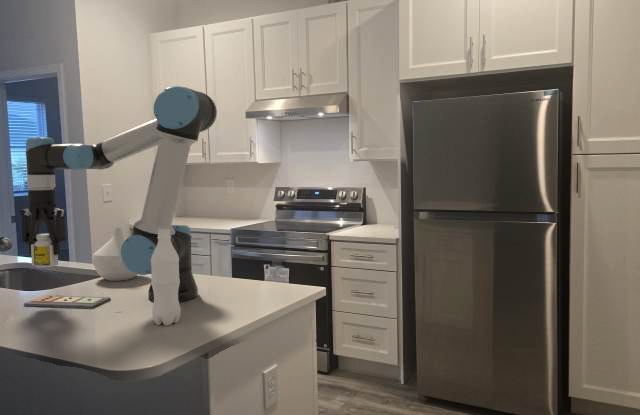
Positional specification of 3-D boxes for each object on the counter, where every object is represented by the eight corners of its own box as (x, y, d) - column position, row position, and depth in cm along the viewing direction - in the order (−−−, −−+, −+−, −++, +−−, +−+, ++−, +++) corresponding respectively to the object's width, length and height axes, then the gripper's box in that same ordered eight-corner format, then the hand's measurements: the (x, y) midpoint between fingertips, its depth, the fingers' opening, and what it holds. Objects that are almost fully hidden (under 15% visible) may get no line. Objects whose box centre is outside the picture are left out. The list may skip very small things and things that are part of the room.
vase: (155, 277, 200) (153, 226, 198) (108, 286, 186) (106, 231, 185) (129, 271, 212) (128, 223, 211) (84, 278, 198) (81, 227, 197)
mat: (110, 299, 167) (110, 295, 166) (92, 308, 157) (92, 304, 157) (45, 297, 170) (45, 293, 170) (24, 306, 160) (23, 301, 160)
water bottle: (165, 328, 137) (162, 231, 135) (146, 324, 141) (143, 229, 139) (186, 321, 143) (184, 228, 141) (167, 317, 147) (165, 226, 145)
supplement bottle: (31, 267, 162) (29, 235, 161) (46, 264, 167) (44, 232, 166) (44, 268, 160) (42, 235, 159) (59, 265, 165) (57, 233, 164)
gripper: (77, 188, 164) (80, 263, 166) (22, 188, 167) (26, 262, 168) (62, 189, 157) (65, 268, 158) (5, 189, 159) (8, 266, 161)
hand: (45, 265), depth 163 cm, fingers closed on supplement bottle, 5 cm apart
